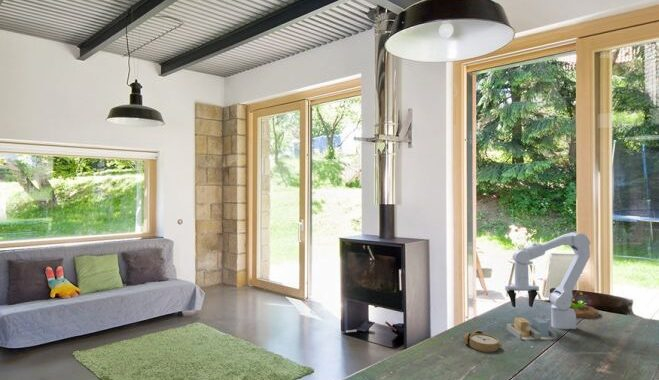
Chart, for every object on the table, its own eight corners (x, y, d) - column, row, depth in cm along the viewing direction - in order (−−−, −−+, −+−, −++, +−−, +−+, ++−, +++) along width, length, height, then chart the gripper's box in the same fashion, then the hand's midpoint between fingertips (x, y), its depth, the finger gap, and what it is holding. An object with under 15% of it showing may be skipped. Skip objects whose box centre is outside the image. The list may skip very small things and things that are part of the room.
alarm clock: (486, 346, 163) (457, 329, 176) (485, 358, 164) (455, 341, 177) (506, 341, 169) (475, 325, 182) (504, 353, 170) (474, 336, 182)
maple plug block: (522, 331, 187) (522, 317, 187) (529, 336, 180) (529, 322, 180) (514, 331, 187) (514, 317, 187) (520, 336, 180) (520, 322, 180)
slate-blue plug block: (541, 331, 186) (540, 317, 186) (548, 336, 179) (548, 322, 179) (532, 331, 186) (532, 317, 187) (540, 336, 179) (539, 322, 180)
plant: (601, 320, 205) (600, 297, 205) (554, 316, 213) (554, 293, 214) (596, 310, 223) (595, 289, 223) (553, 306, 231) (553, 286, 232)
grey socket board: (541, 330, 190) (540, 323, 190) (556, 341, 176) (556, 333, 176) (506, 330, 191) (506, 323, 191) (519, 341, 177) (519, 333, 177)
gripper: (533, 275, 200) (534, 304, 199) (502, 275, 200) (502, 304, 200) (540, 277, 193) (541, 308, 192) (508, 278, 193) (508, 308, 193)
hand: (522, 306), depth 196 cm, fingers open, 7 cm apart
